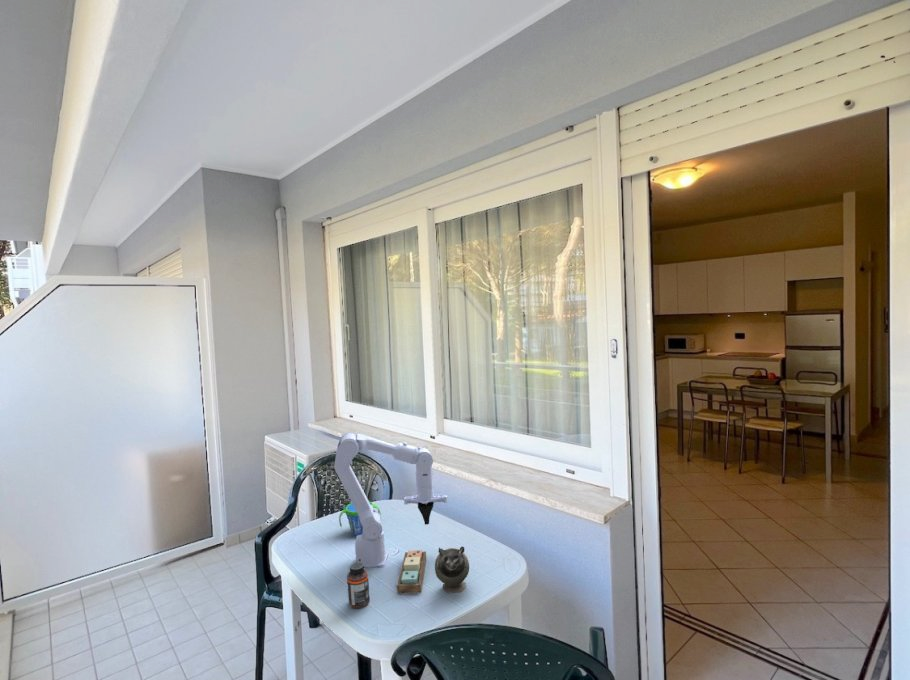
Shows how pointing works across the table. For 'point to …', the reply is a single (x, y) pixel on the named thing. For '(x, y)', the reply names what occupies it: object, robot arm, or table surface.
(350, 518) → the snack cup
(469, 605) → the table surface
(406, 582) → the tile two
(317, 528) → the table surface
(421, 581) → the tile tray
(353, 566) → the supplement bottle
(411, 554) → the tile three
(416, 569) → the tile one
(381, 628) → the table surface
